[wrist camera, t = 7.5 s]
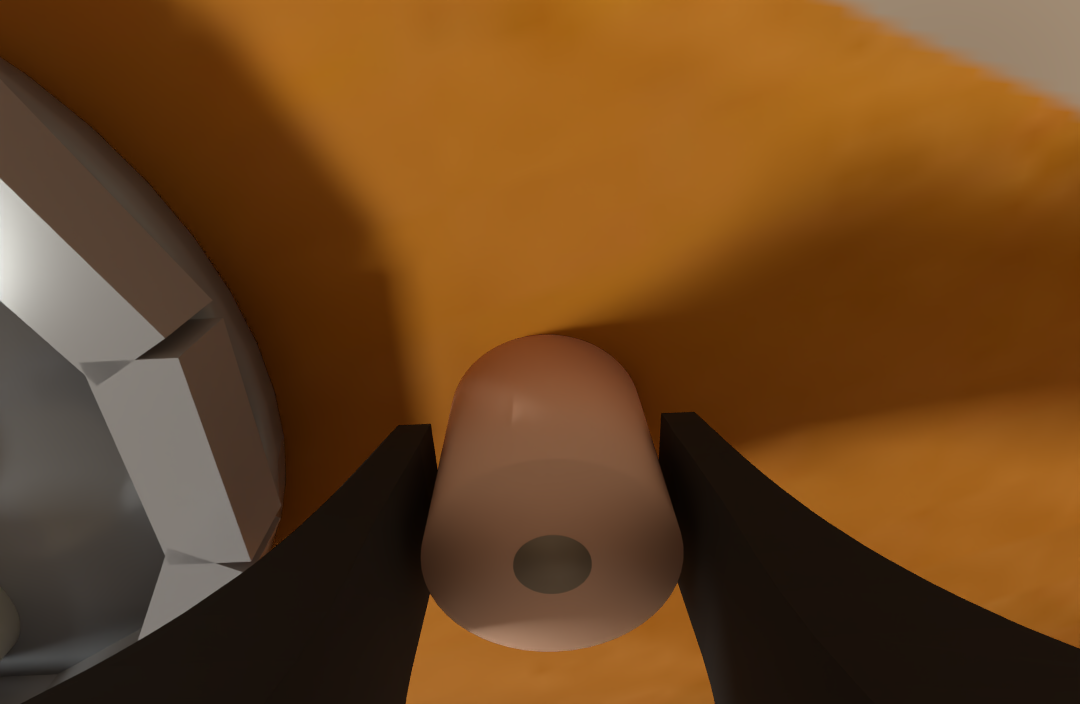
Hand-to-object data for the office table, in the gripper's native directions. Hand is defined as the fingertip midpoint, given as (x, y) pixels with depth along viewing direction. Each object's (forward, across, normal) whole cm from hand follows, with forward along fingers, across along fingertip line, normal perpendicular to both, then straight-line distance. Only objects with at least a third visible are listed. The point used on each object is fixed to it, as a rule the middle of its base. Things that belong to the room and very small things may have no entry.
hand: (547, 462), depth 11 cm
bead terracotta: (+2, 0, 0) cm, 2 cm away
